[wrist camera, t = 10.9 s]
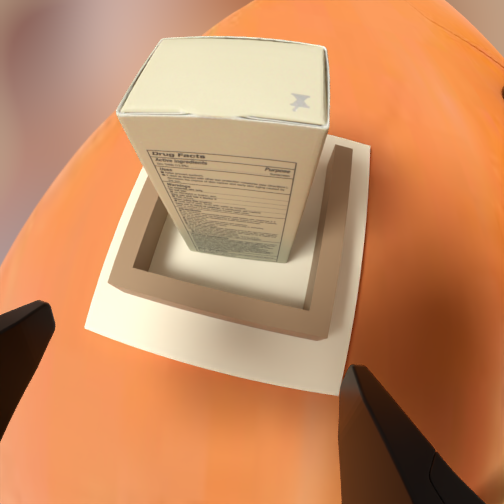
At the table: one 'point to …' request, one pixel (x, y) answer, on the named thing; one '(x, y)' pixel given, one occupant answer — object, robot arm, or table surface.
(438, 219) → the table surface
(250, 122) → the skincare box
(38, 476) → the table surface
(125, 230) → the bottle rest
